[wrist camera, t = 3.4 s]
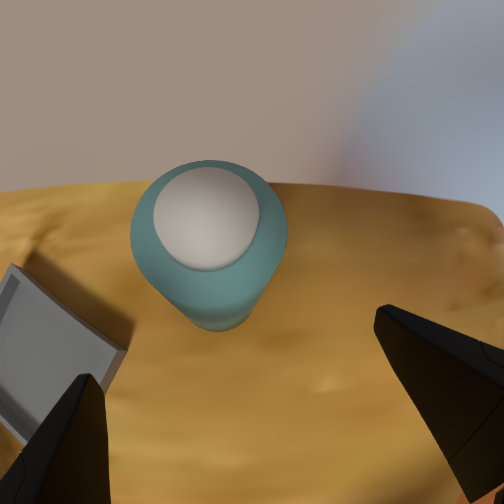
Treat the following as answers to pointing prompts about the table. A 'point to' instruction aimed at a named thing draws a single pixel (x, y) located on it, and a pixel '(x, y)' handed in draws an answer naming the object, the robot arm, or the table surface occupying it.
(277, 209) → the pepper mill
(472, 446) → the robot arm
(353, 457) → the table surface
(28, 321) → the tray
